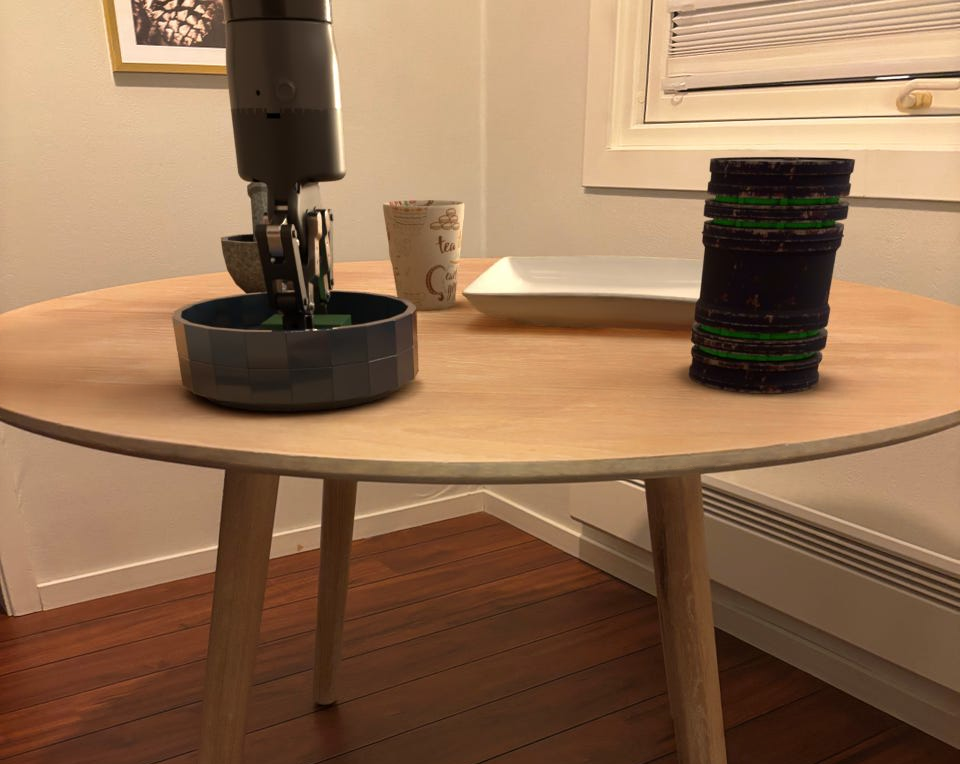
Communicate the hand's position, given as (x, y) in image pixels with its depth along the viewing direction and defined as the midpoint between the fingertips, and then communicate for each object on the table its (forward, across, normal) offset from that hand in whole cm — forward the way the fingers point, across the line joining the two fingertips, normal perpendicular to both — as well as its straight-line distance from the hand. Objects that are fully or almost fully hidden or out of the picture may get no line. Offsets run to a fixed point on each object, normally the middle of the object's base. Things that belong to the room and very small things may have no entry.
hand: (309, 358), depth 73 cm
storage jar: (+2, -2, +34) cm, 34 cm away
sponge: (+1, 0, 0) cm, 1 cm away
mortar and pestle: (+2, -31, -11) cm, 33 cm away
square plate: (+2, -30, +25) cm, 39 cm away
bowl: (+1, +3, 0) cm, 3 cm away
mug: (+2, -34, +4) cm, 35 cm away
